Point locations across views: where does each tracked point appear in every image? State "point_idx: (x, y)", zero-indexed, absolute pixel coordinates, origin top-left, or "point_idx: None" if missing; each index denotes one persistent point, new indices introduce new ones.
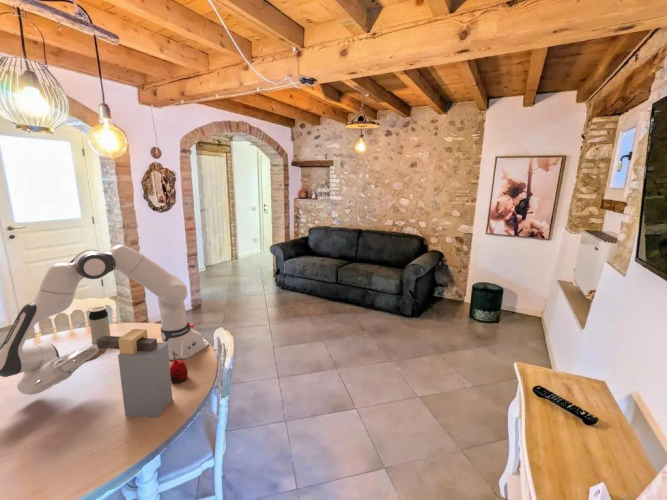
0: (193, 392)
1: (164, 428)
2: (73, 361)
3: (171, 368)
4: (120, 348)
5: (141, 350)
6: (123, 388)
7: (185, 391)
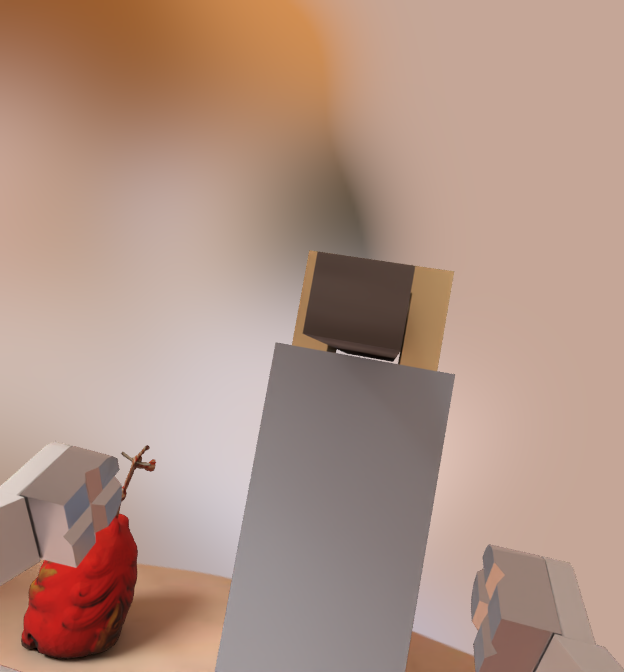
0: (219, 600)
1: (435, 661)
2: (542, 563)
3: (111, 562)
4: (442, 335)
5: (393, 360)
6: (413, 614)
7: (202, 618)
